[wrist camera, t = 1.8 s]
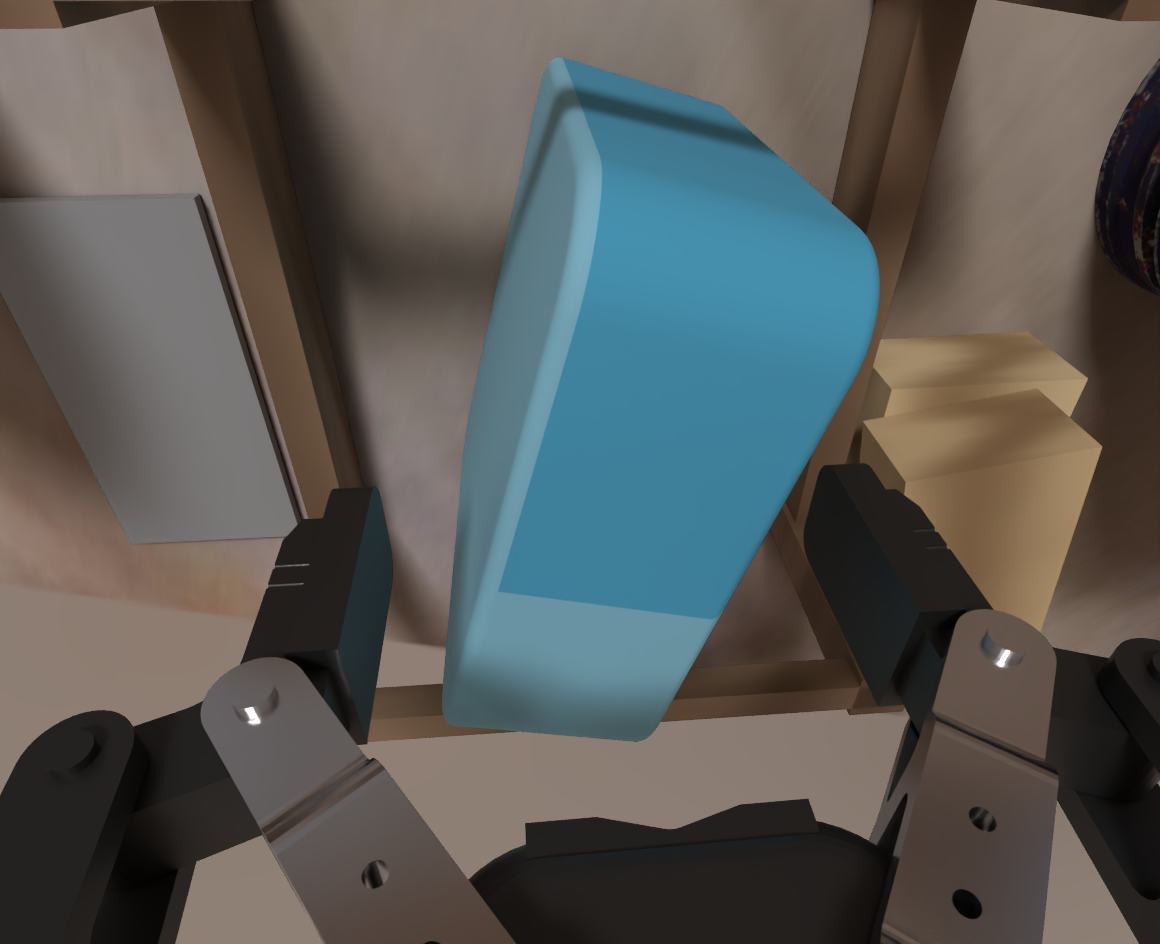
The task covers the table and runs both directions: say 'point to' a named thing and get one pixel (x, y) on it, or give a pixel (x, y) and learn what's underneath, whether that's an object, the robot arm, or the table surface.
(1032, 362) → the offcut lower
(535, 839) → the robot arm
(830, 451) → the frame
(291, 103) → the table surface
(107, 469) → the mat
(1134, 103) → the dark navy cylinder
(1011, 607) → the offcut upper
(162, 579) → the table surface
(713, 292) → the blue rounded block
